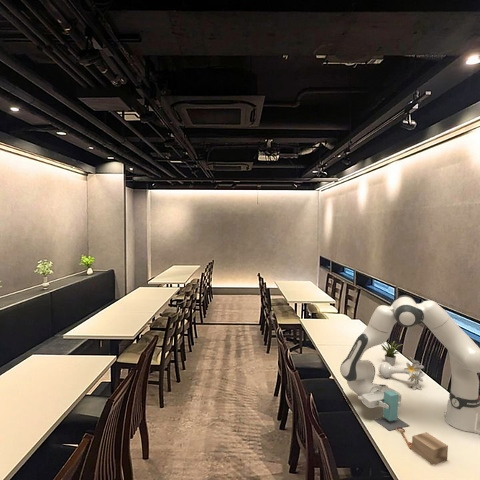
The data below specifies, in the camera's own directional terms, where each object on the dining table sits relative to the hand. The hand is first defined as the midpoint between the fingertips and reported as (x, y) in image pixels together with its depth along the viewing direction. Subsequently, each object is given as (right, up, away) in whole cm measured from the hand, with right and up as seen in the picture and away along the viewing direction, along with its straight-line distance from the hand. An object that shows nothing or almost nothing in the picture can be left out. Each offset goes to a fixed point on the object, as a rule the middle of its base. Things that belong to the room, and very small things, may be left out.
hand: (393, 406), depth 172 cm
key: (+1, -9, -11) cm, 15 cm away
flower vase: (+24, -7, +47) cm, 53 cm away
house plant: (+29, -6, +74) cm, 80 cm away
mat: (-1, -8, +1) cm, 9 cm away
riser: (+5, -10, -22) cm, 25 cm away
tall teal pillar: (-1, -6, +2) cm, 7 cm away
